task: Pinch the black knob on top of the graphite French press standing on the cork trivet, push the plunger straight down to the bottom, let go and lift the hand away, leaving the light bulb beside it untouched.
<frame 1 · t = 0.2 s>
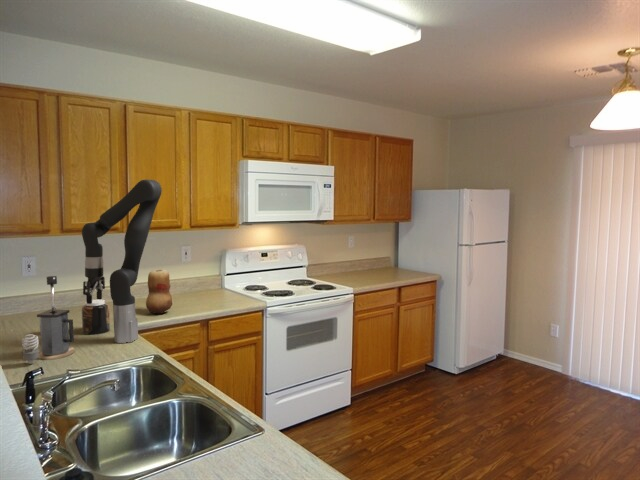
hand: (94, 301, 208), 18 cm above the table, tool pointing down, fingers open, 8 cm apart
figurine: (54, 333, 219), on the table
jar: (96, 331, 223), on the table
light bulb: (31, 364, 179), on the table
butternut squash: (159, 313, 257), on the table
carafe: (55, 352, 191), resting on trivet
trivet: (55, 353, 191), on the table
plunger: (52, 300, 189), point 23 cm above the table, slide at 0.0 cm
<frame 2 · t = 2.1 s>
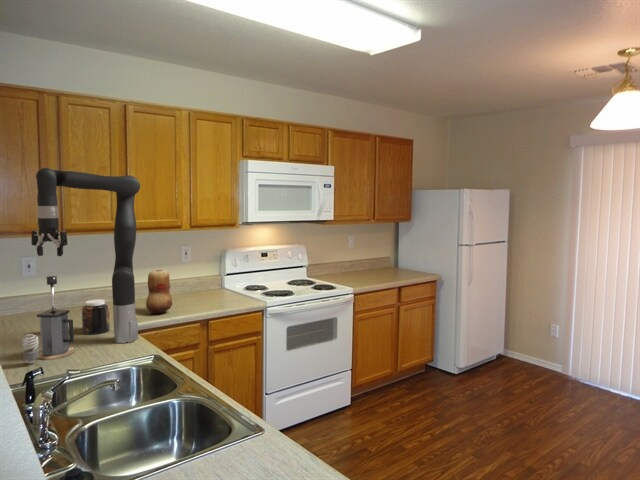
hand: (50, 255, 190), 41 cm above the table, tool pointing down, fingers open, 8 cm apart
nothing on the table moved.
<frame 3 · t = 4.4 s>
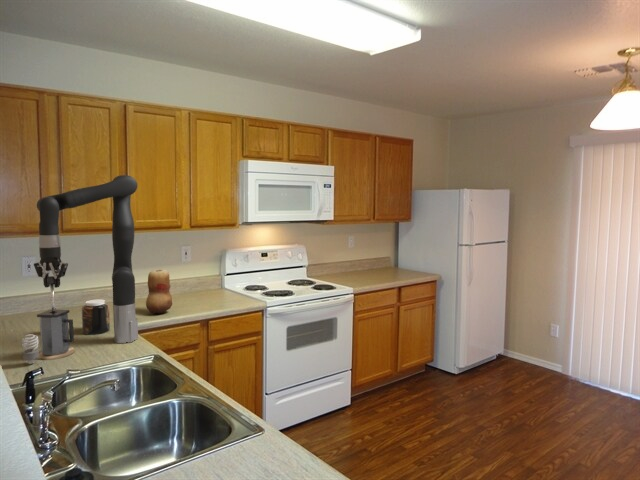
hand: (52, 287, 188), 28 cm above the table, tool pointing down, fingers closed on plunger, 3 cm apart
plunger: (52, 300, 189), point 23 cm above the table, slide at 0.0 cm, touching gripper
everything else where it was.
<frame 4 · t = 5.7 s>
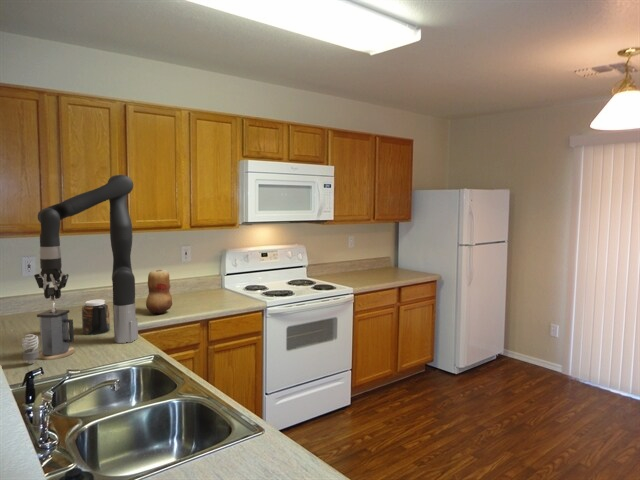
hand: (52, 298, 189), 24 cm above the table, tool pointing down, fingers closed on plunger, 3 cm apart
plunger: (53, 311, 189), point 18 cm above the table, slide at 4.7 cm, touching gripper
everything else where it was.
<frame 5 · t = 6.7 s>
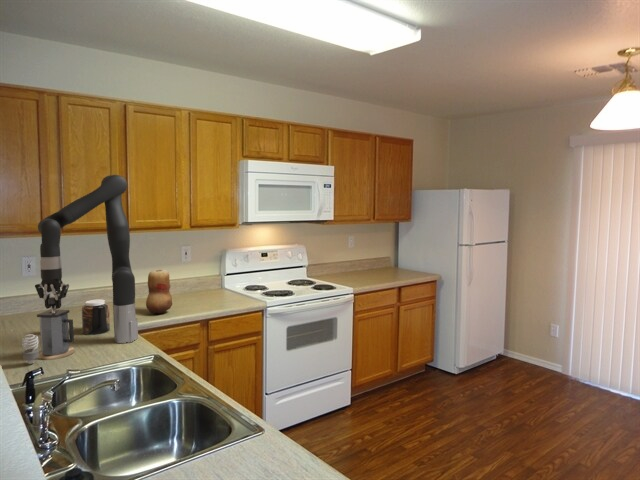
hand: (53, 308, 189), 20 cm above the table, tool pointing down, fingers closed on plunger, 3 cm apart
plunger: (53, 321, 190), point 14 cm above the table, slide at 8.9 cm, touching gripper
everything else where it was.
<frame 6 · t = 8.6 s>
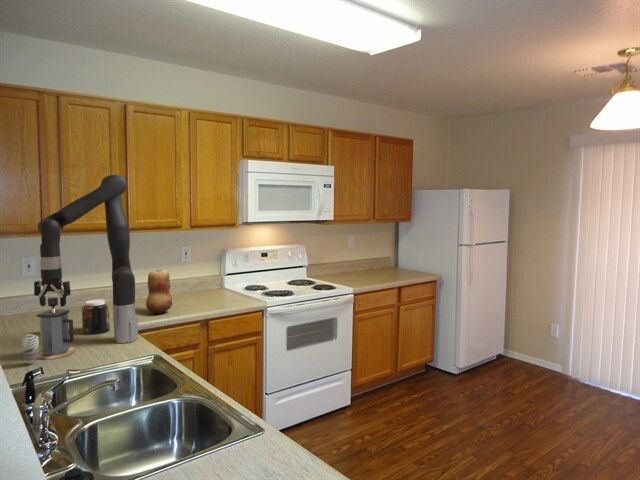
hand: (53, 305, 189), 20 cm above the table, tool pointing down, fingers open, 8 cm apart
plunger: (53, 321, 190), point 14 cm above the table, slide at 9.0 cm
everything else where it was.
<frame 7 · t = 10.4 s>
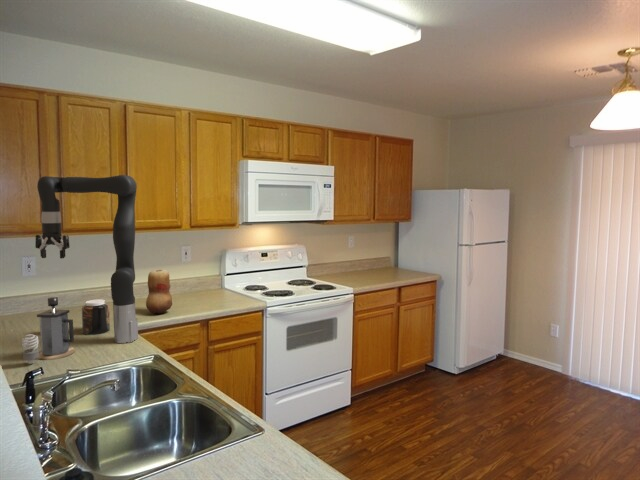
hand: (53, 258, 203), 38 cm above the table, tool pointing down, fingers open, 8 cm apart
nothing on the table moved.
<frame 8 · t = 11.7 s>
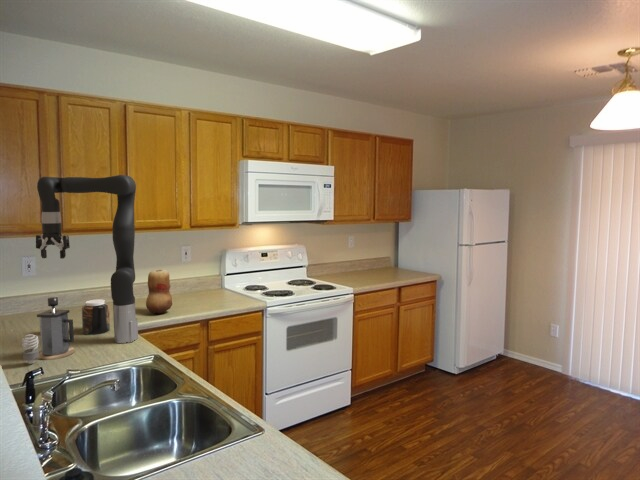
hand: (53, 258, 204), 38 cm above the table, tool pointing down, fingers open, 8 cm apart
nothing on the table moved.
at the end: plunger slide at 9.0 cm; the gripper is holding nothing; light bulb moved 0.2 cm from its start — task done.
